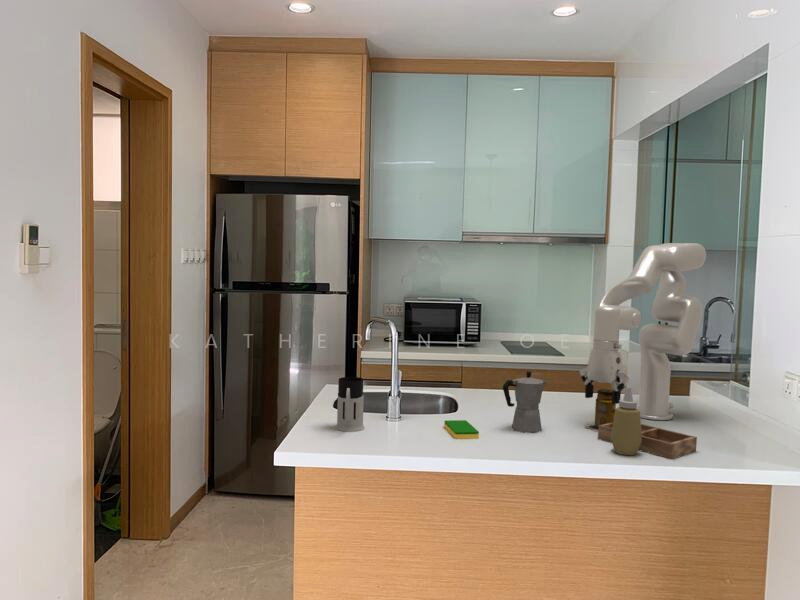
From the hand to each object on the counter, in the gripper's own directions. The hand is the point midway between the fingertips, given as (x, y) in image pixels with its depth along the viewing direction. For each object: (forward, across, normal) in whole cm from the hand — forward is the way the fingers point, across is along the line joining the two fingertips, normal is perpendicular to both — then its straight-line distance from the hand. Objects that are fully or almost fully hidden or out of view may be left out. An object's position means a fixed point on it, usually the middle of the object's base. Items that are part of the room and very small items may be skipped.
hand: (602, 400), depth 202 cm
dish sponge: (+11, +21, +40) cm, 46 cm away
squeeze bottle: (+10, -19, +16) cm, 26 cm away
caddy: (+9, -18, +4) cm, 21 cm away
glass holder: (+11, +41, +67) cm, 79 cm away
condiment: (+9, 0, -1) cm, 9 cm away
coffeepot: (+10, +13, +21) cm, 27 cm away
